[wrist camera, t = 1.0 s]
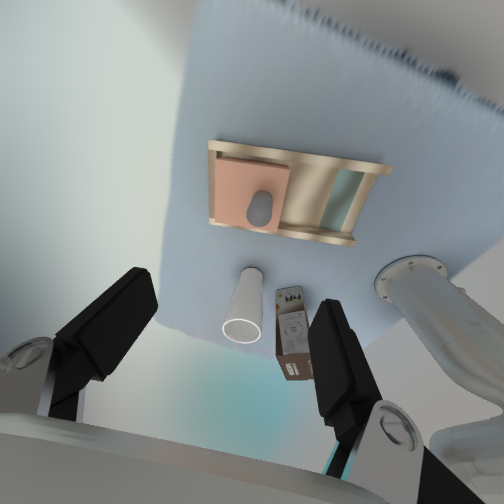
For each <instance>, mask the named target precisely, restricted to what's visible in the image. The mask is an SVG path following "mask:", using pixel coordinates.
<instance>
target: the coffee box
mask: <svg viewBox="0 0 504 504" xmlns="http://www.w3.org/2000/svg"><path fill="white" fill-rule="evenodd" d="M309 328H310V327H309V321H308V316H307V311H306V306H305V302H304V298H303V294H302V289H301V286H298V287H292V288H286V289H279V290H276V358H277V360H278V362H279V364H280V367H281V369H282V371H283V373H284V375H285V378H286V380H308V379H314V376H313V370H312V363H311V357H310V351H309V344H308V338H307V334H308V330H309Z"/></svg>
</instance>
